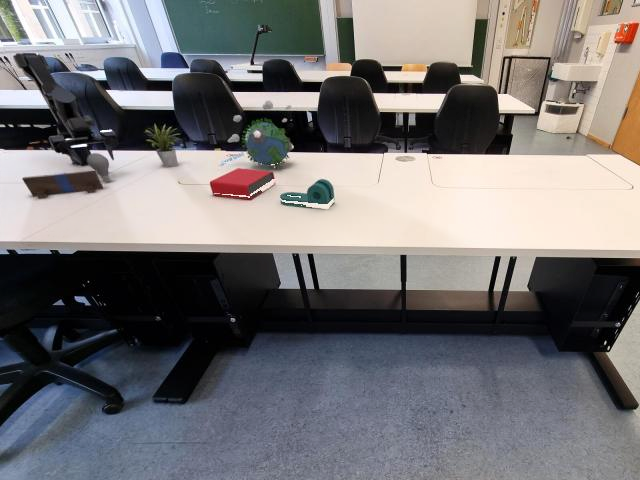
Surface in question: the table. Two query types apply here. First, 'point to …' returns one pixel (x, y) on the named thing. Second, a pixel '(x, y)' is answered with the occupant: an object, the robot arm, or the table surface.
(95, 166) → the light bulb
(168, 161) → the house plant
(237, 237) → the table surface
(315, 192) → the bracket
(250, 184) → the red book
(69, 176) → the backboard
